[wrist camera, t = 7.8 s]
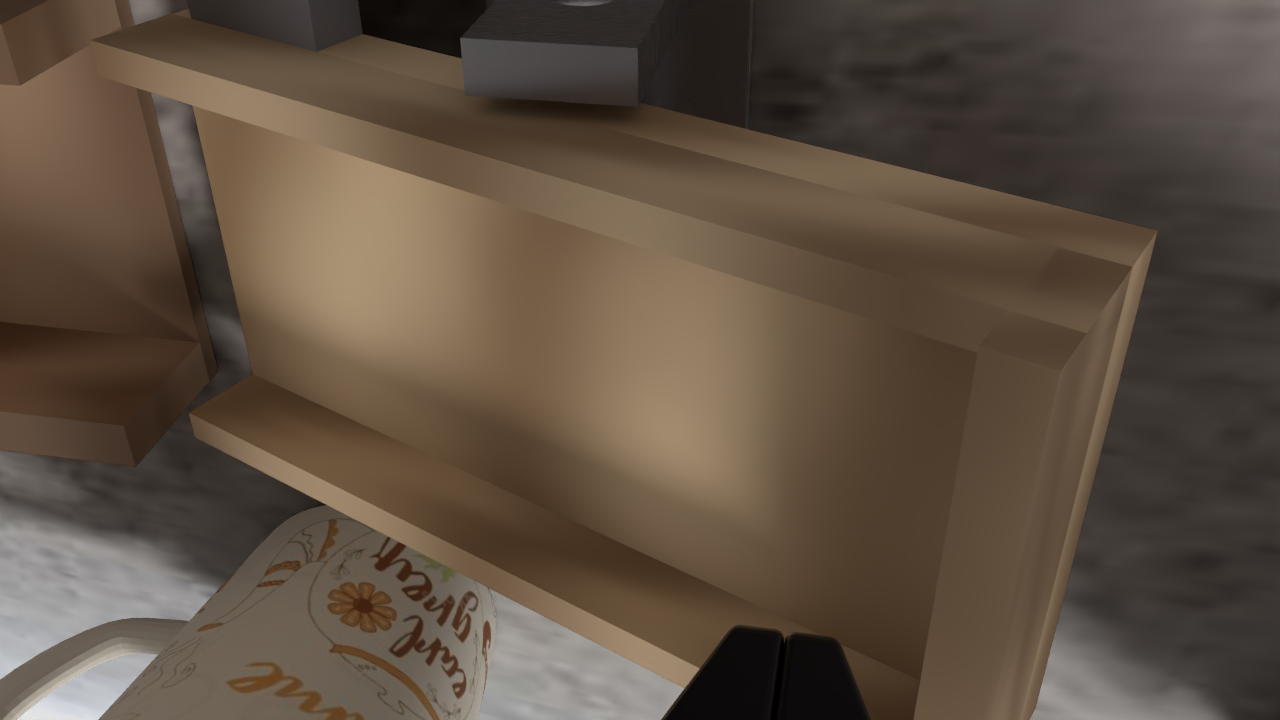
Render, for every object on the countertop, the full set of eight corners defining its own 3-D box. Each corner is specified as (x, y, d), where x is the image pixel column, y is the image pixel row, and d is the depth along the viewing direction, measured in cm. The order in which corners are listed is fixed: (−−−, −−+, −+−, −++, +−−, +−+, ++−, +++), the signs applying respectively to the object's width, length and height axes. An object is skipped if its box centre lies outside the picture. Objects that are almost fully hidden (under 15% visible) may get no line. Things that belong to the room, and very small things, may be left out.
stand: (757, -81, 19) (715, 13, 15) (733, 473, 25) (698, 641, 21) (490, -92, 20) (383, -4, 16) (530, 449, 26) (460, 608, 22)
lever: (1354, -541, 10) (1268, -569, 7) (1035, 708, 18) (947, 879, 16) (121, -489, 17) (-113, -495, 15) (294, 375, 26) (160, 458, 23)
